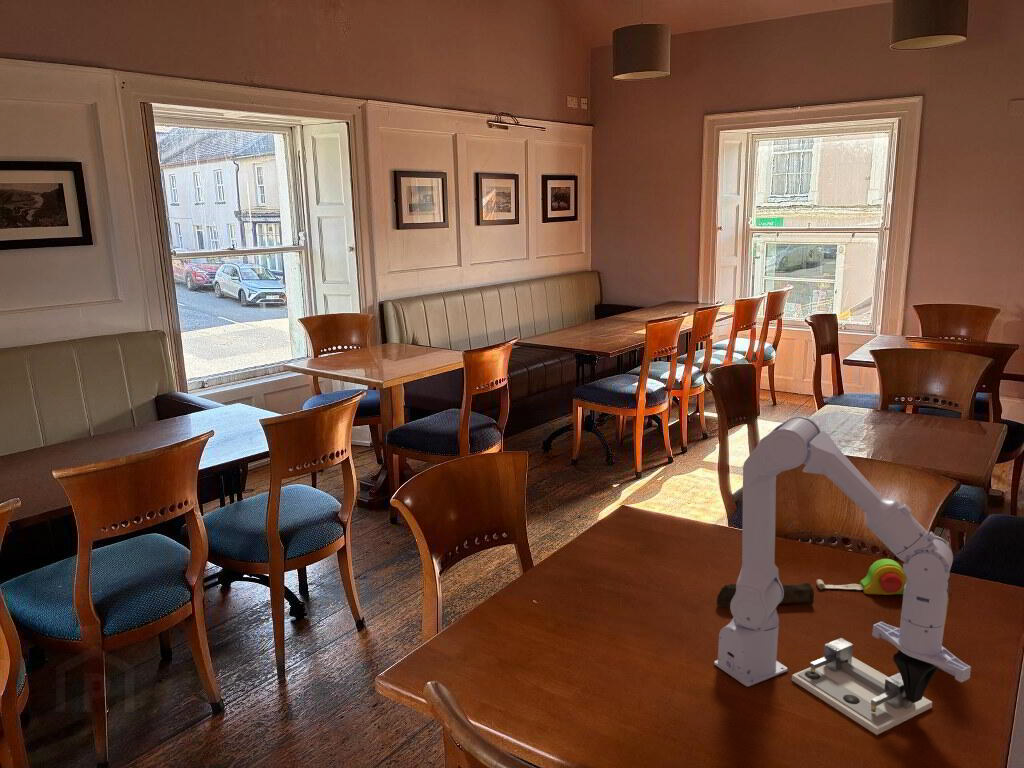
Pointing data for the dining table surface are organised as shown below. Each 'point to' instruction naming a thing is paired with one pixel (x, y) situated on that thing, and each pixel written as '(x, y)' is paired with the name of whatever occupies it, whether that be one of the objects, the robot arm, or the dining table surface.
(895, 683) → the grey sliding bolt
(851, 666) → the board
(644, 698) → the dining table surface
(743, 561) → the robot arm
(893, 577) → the toy measuring tape
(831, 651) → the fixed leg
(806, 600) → the hand tool
